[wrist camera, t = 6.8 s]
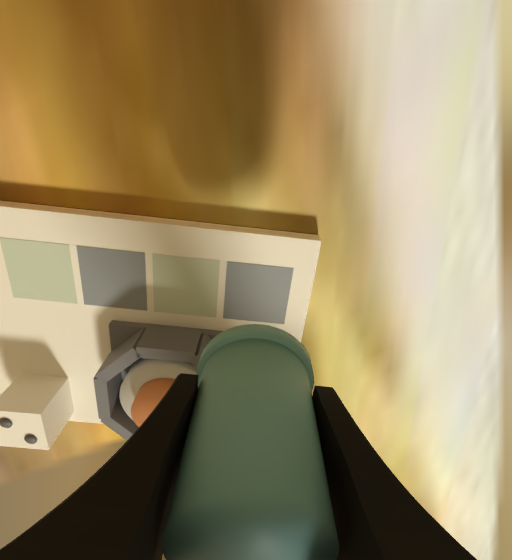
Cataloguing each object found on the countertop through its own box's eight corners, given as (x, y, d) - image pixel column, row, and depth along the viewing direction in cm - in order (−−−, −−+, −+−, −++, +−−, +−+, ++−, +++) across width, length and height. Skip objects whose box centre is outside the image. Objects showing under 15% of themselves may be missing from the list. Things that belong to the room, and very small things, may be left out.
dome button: (215, 422, 22) (211, 453, 20) (129, 415, 22) (116, 444, 20) (220, 354, 19) (216, 381, 17) (124, 345, 19) (108, 371, 17)
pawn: (301, 417, 14) (326, 605, 9) (196, 407, 14) (154, 592, 8) (321, 330, 12) (370, 499, 7) (200, 318, 12) (149, 481, 7)
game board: (280, 427, 25) (283, 481, 21) (-23, 400, 24) (-74, 451, 20) (318, 234, 18) (333, 264, 14) (-96, 190, 17) (-191, 208, 14)
